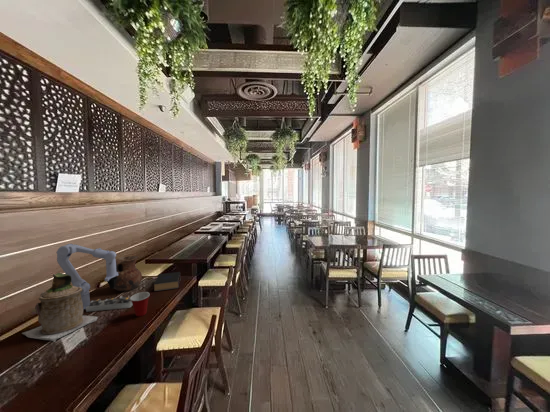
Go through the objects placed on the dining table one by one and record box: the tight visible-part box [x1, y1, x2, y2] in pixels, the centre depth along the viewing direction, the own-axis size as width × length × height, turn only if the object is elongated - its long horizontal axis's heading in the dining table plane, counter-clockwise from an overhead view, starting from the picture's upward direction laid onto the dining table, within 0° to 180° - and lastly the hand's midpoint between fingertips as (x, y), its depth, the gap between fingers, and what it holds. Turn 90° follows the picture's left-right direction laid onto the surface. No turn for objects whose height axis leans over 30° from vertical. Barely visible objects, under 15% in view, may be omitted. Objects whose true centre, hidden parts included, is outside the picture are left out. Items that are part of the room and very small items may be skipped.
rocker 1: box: [90, 298, 102, 305], centre depth 158 cm, size 5×3×2 cm, turn 100°
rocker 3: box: [118, 295, 130, 301], centre depth 161 cm, size 5×3×2 cm, turn 100°
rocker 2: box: [103, 297, 116, 303], centre depth 160 cm, size 5×3×2 cm, turn 100°
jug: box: [114, 255, 143, 292], centre depth 195 cm, size 22×21×25 cm
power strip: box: [85, 297, 133, 313], centre depth 161 cm, size 26×8×5 cm, turn 100°
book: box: [153, 271, 182, 292], centre depth 200 cm, size 17×25×7 cm
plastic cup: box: [129, 291, 151, 317], centre depth 149 cm, size 11×11×12 cm
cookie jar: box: [21, 272, 98, 343], centre depth 136 cm, size 25×25×32 cm
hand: (112, 288), depth 167 cm, fingers closed
